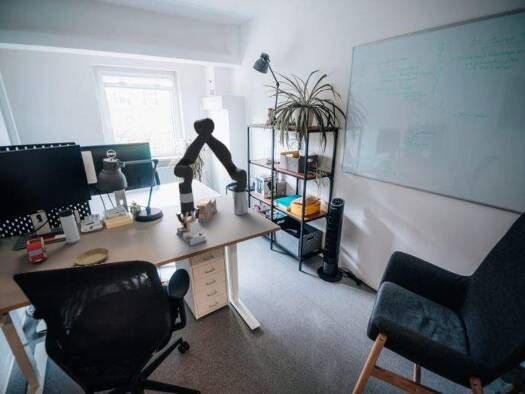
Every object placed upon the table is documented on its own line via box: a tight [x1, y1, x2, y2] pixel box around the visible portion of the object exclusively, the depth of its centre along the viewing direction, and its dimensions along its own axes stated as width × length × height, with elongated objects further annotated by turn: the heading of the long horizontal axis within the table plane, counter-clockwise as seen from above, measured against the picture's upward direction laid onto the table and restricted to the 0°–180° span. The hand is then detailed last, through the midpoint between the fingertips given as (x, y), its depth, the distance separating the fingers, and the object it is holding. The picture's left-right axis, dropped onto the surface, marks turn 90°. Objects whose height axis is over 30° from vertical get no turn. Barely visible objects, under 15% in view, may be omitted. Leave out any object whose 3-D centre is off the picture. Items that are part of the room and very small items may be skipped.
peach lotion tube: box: [180, 214, 201, 234], centre depth 145 cm, size 5×16×6 cm, turn 39°
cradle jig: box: [176, 225, 208, 248], centre depth 147 cm, size 10×20×4 cm, turn 39°
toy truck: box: [26, 236, 48, 264], centre depth 129 cm, size 7×21×10 cm, turn 42°
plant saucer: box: [74, 247, 110, 266], centre depth 126 cm, size 15×15×3 cm
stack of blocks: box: [196, 198, 218, 223], centre depth 176 cm, size 21×6×12 cm, turn 171°
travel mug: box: [57, 208, 81, 244], centre depth 141 cm, size 6×7×20 cm
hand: (189, 226), depth 145 cm, fingers closed on peach lotion tube, 4 cm apart
